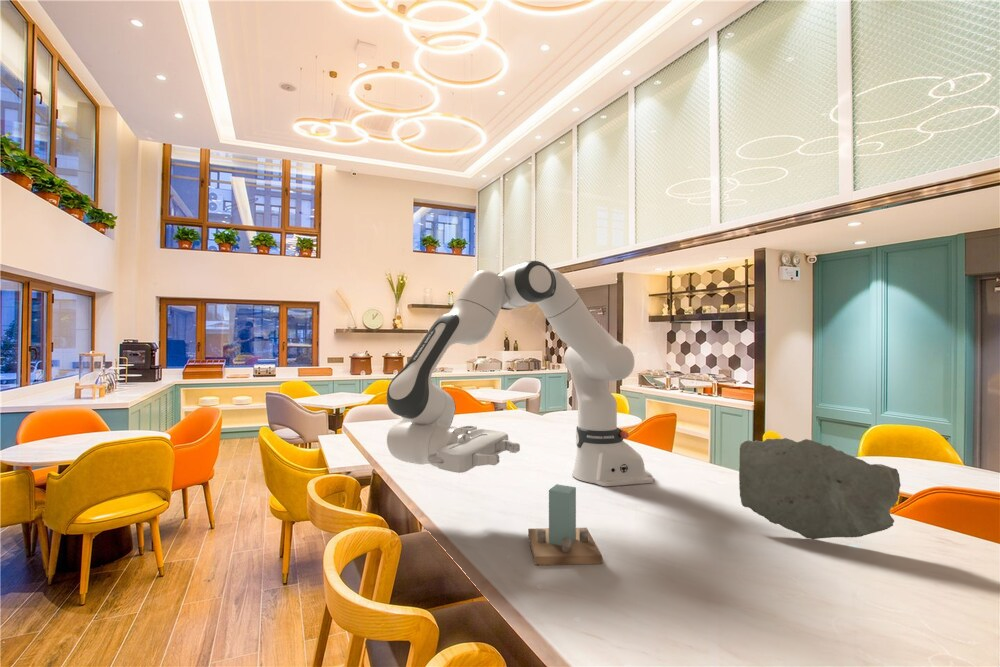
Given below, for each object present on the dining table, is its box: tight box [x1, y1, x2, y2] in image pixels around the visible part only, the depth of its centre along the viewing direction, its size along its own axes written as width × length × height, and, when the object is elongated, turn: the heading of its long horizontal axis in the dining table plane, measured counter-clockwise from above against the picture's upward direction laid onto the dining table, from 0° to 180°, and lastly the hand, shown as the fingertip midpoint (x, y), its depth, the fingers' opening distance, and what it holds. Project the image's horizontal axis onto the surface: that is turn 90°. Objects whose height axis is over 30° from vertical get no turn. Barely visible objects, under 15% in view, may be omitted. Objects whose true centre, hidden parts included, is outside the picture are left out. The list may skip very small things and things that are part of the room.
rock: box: [738, 437, 902, 540], centre depth 93 cm, size 27×6×20 cm, turn 61°
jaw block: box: [548, 483, 577, 546], centre depth 89 cm, size 4×4×10 cm
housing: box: [527, 527, 603, 566], centre depth 89 cm, size 12×12×4 cm
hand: (508, 453), depth 95 cm, fingers open, 8 cm apart
